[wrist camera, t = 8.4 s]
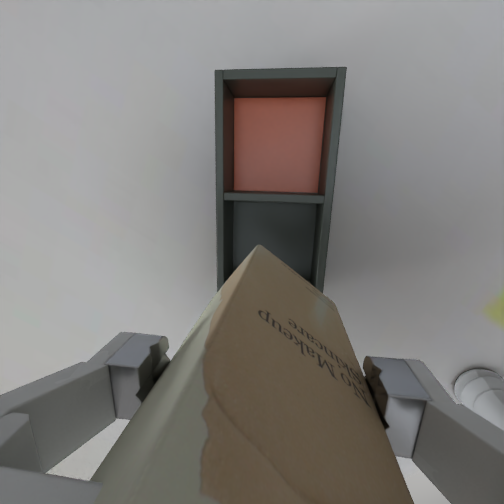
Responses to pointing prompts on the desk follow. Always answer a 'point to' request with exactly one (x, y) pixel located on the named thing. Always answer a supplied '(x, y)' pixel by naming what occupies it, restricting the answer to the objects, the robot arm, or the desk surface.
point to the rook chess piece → (482, 394)
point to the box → (258, 408)
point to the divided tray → (276, 165)
